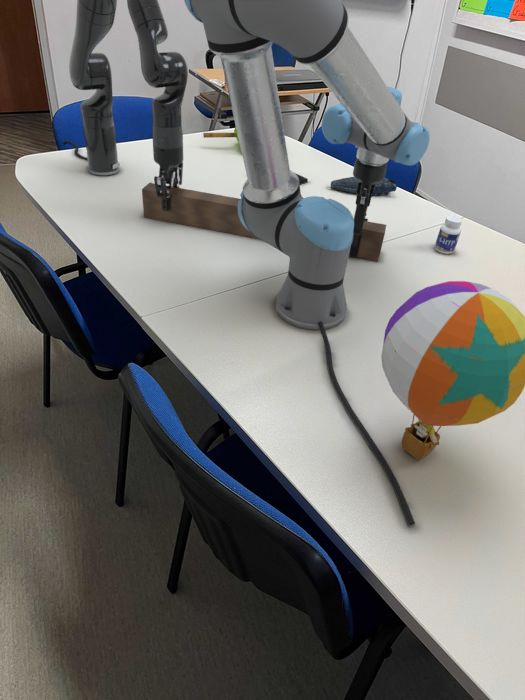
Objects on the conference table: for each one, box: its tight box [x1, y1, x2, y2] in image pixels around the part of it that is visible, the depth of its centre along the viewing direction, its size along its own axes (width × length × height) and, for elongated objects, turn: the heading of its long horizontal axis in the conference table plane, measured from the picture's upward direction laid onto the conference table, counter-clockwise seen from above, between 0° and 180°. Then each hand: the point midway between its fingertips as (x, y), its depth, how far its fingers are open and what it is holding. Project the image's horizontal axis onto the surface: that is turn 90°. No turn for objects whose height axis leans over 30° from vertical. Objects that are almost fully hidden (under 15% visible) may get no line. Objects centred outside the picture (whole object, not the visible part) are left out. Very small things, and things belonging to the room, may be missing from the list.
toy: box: [380, 280, 525, 461], centre depth 74 cm, size 20×20×30 cm
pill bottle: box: [434, 215, 463, 255], centre depth 137 cm, size 5×5×9 cm
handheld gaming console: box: [290, 169, 309, 185], centre depth 171 cm, size 12×7×10 cm
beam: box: [141, 182, 387, 262], centre depth 137 cm, size 64×5×8 cm, turn 75°
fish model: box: [330, 176, 398, 196], centre depth 167 cm, size 7×21×5 cm, turn 84°
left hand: (170, 206), depth 141 cm, fingers closed on beam, 5 cm apart
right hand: (353, 250), depth 135 cm, fingers closed on beam, 5 cm apart
